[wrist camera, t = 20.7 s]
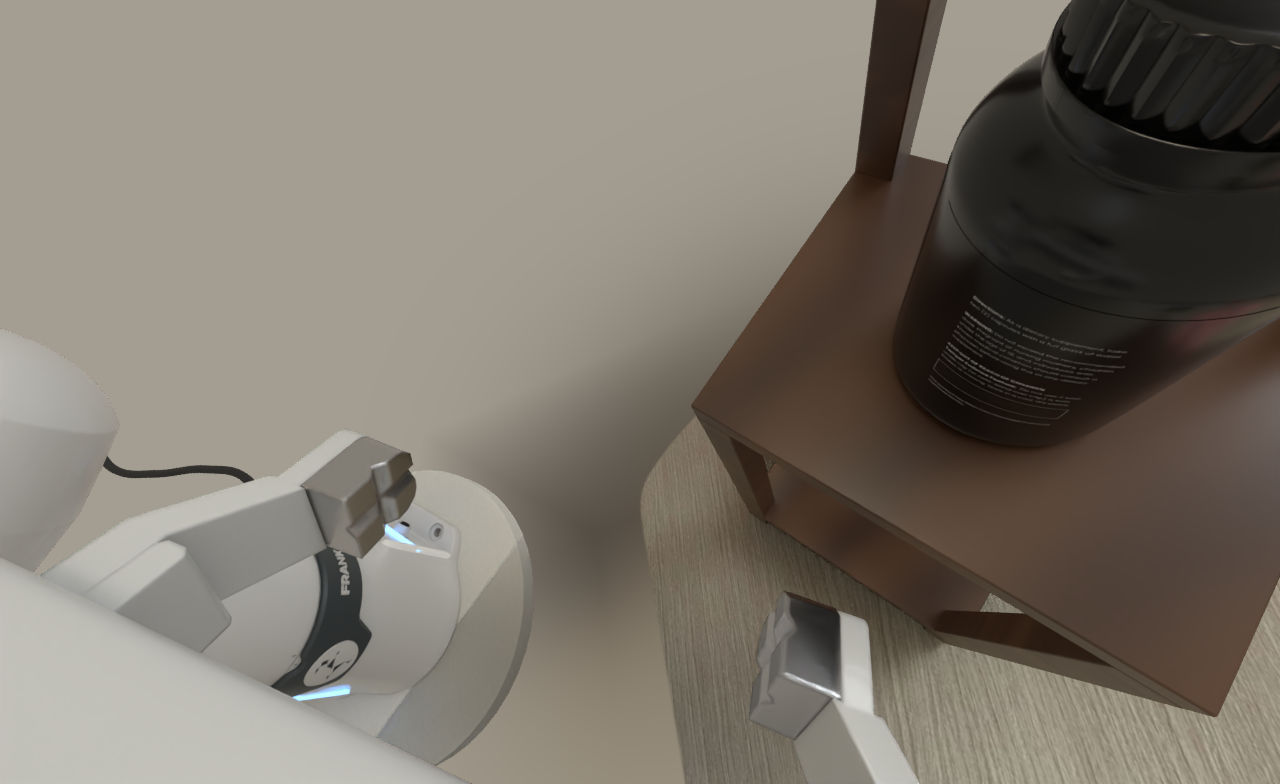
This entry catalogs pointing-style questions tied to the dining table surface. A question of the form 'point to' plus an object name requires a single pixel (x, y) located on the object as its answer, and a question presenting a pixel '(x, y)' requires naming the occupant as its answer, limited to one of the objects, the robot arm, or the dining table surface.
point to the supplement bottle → (1101, 222)
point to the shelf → (997, 453)
